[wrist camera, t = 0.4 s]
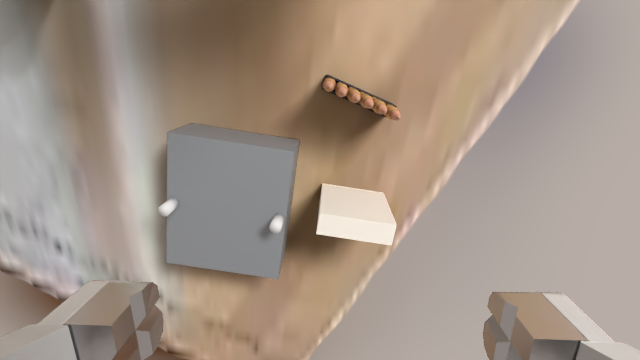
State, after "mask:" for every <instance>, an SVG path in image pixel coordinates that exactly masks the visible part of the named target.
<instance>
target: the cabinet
mask: <svg viewBox="0 0 640 360" xmlns="http://www.w3.org/2000/svg"><path fill="white" fill-rule="evenodd" d="M299 144H300V140H298V139H291V138H285V137H278V136H272V135H265V134H259V133H252V132H246V131H239V130H233V129H226V128H220V127H214V126H207V125H201V124H194V123H190V124H188V125H185V126H182V127H180V128H177V129H174V130H172V131H169V132H167V201H166V202H165V203H163V204H162V205H161V206H160V207H159V208H158V213H159V214H160V215H161V216H164V217H166V216H167V241H166V263H172V264H179V265H186V266H192V267H199V268H206V269H212V270H219V271H226V272H232V273H239V274H246V275H252V276H259V277H266V278H272V279H278V278H279V274H280V270H281V266H282V262H283V258H284V255H285V249H286V242H287V234H288V227H289V219H290V212H291V204H292V197H293V189H294V181H295V174H296V166H297V159H298V151H299Z"/></svg>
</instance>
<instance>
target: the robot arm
mask: <svg viewBox="0 0 640 360" xmlns="http://www.w3.org/2000/svg"><path fill="white" fill-rule="evenodd" d="M159 298H160V296H159V291H158V286H157V285H156V284H154V283H153V282H135V281H112V280H93V281H88V282H87V283H86V284H85V285H83V286H82V287H81V288H80V289H79V290H77V291H76V292H75V293H74V294H73V295H71V296H70V297H69V298H68V299H67V300H66V301H64V302H63V303H62V304H61V305H60V306H58V307H57V308H56V309H55V310H54V311H52V312H51V313H50V314H49V315H48V316H47V317H45V318H44V319H43V320H42V321H41V322H39V323H38V324H29V325H27V326H25V327H22V328H20V329H18V330H16V331H13V332H11V333H8V334H6V335H4V336H1V337H0V360H144V359H145V358H147V357H148V356H150V355H151V354H153V352H154V351H155V349H156V348H157V346H158V344H159V342H160V339H161V335H162V332H163V315H162V312H161V311H160V310H159V309H158V308H157V307H156V305H155V304H156V302H157V301H158V299H159ZM488 308H489V310H490V311H491V313H492V314H493V315H492V316H491V317H490V318H489V319H488V320H487V321H485V324H484V331H483V339H484V347H485V350H486V353H487V356H488V358H489V360H640V351H639V350H637V349H635V348H633V347H631V346H629V345H627V344H625V343H618V342H614V341H613V340H612V339H611V338H610V337H609V336H608V335H607V334H606V333H605V332H604V331H603V330H602V329H601V328H599V327H598V326H597V325H596V324H595V323H594V322H593V321H592V320H591V319H590V318H589V317H588V316H587V315H585V313H584V312H583V311H582V310H580V309H579V308H578V307H577V306H576V305H575V304H574V303H573V302H572V301H571V300H570V299H569V298H568V297H567V296H566V295H564V294H562V293H559V292H536V293H529V292H526V293H525V292H492V294H491V296H490V297H489V302H488Z"/></svg>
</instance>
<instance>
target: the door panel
mask: <svg viewBox="0 0 640 360" xmlns="http://www.w3.org/2000/svg"><path fill="white" fill-rule="evenodd" d="M396 226H397V225H396V222H395V220H394V217H393V215H392V212H391V210H390V207H389V205H388V203H387V200H386V198H385V195H384V193H382V192H376V191H369V190H363V189H356V188H350V187H343V186H337V185H330V184H324V183H322V189H321V195H320V202H319V212H318V222H317V231H316V234H319V235H326V236H332V237H339V238H345V239H352V240H359V241H365V242H372V243H378V244H385V245H392V242H393V238H394V234H395V230H396Z"/></svg>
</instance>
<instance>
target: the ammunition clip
mask: <svg viewBox="0 0 640 360" xmlns="http://www.w3.org/2000/svg"><path fill="white" fill-rule="evenodd" d="M322 89H324V90H326V91H328V92H330V93H333V94H335V95H337V96H339V97H342V98H344V99H346V100H349V101H351V102H353V103H355V104H358V105H360V106H362V107H364V108H367V109H369V110H371V111H373V112H376V113H378V114H380V115H382V116H385V117H387V118H389V119H393V120H399V119H400V117H401V115H400V113H399V111H398V109H397V108H396V107H397V106H395V105H394V104H392V103H390V102H388V101H386V100H383V99H381V98H379V97H377V96H374V95H372V94H370V93H368V92H365V91H363V90H361V89H359V88H356V87H354V86H352V85H350V84H347V83H345V82H343V81H341V80H339V79H336V78H334V77H332V76H330V75H326V76H325V79H324V81H323V83H322ZM334 92H335V93H334ZM345 97H346V98H345ZM347 98H348V99H347ZM370 108H371V109H370Z"/></svg>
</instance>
